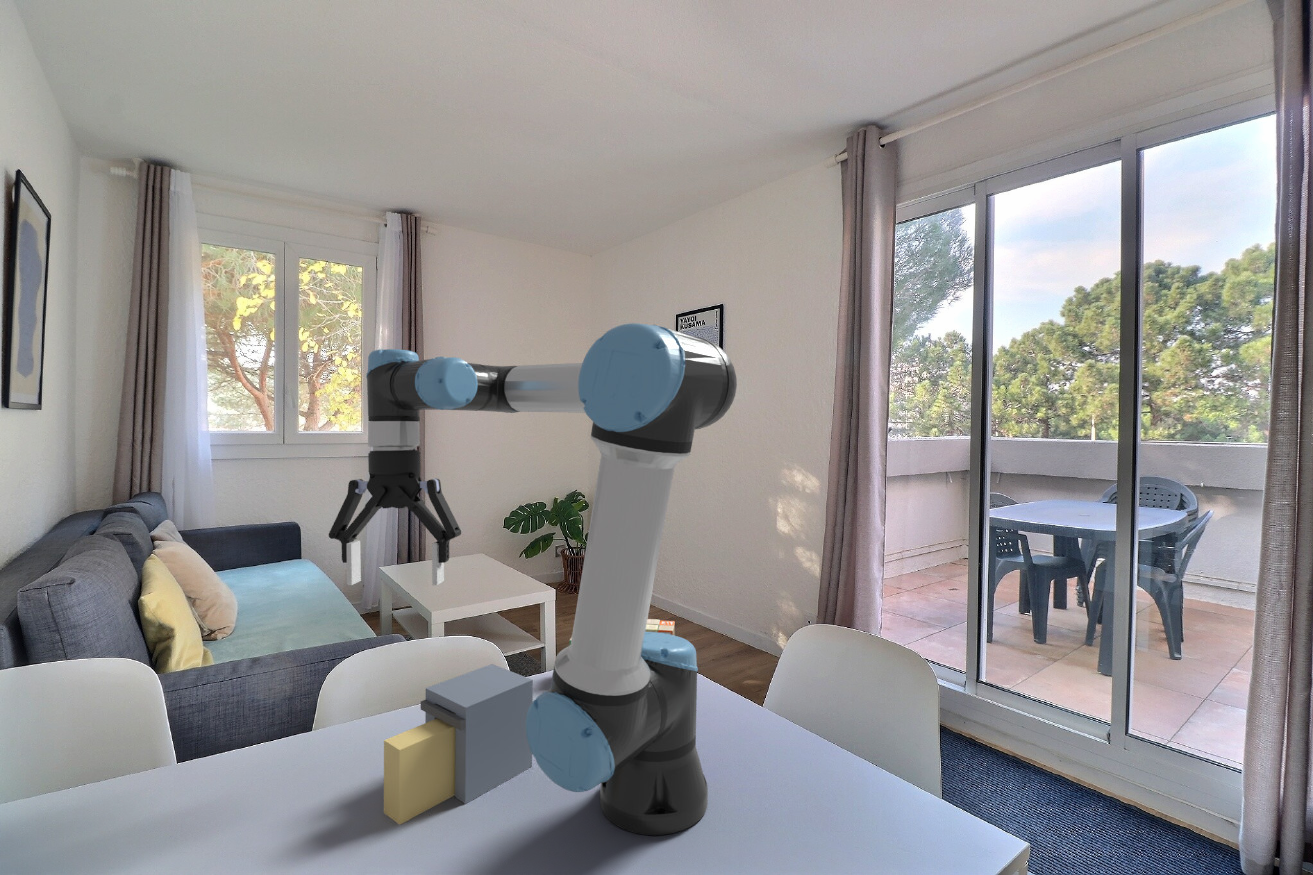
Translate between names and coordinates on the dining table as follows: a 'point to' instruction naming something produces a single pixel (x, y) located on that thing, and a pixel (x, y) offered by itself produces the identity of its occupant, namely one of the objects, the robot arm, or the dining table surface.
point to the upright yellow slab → (419, 769)
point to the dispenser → (484, 726)
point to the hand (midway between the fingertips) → (396, 583)
